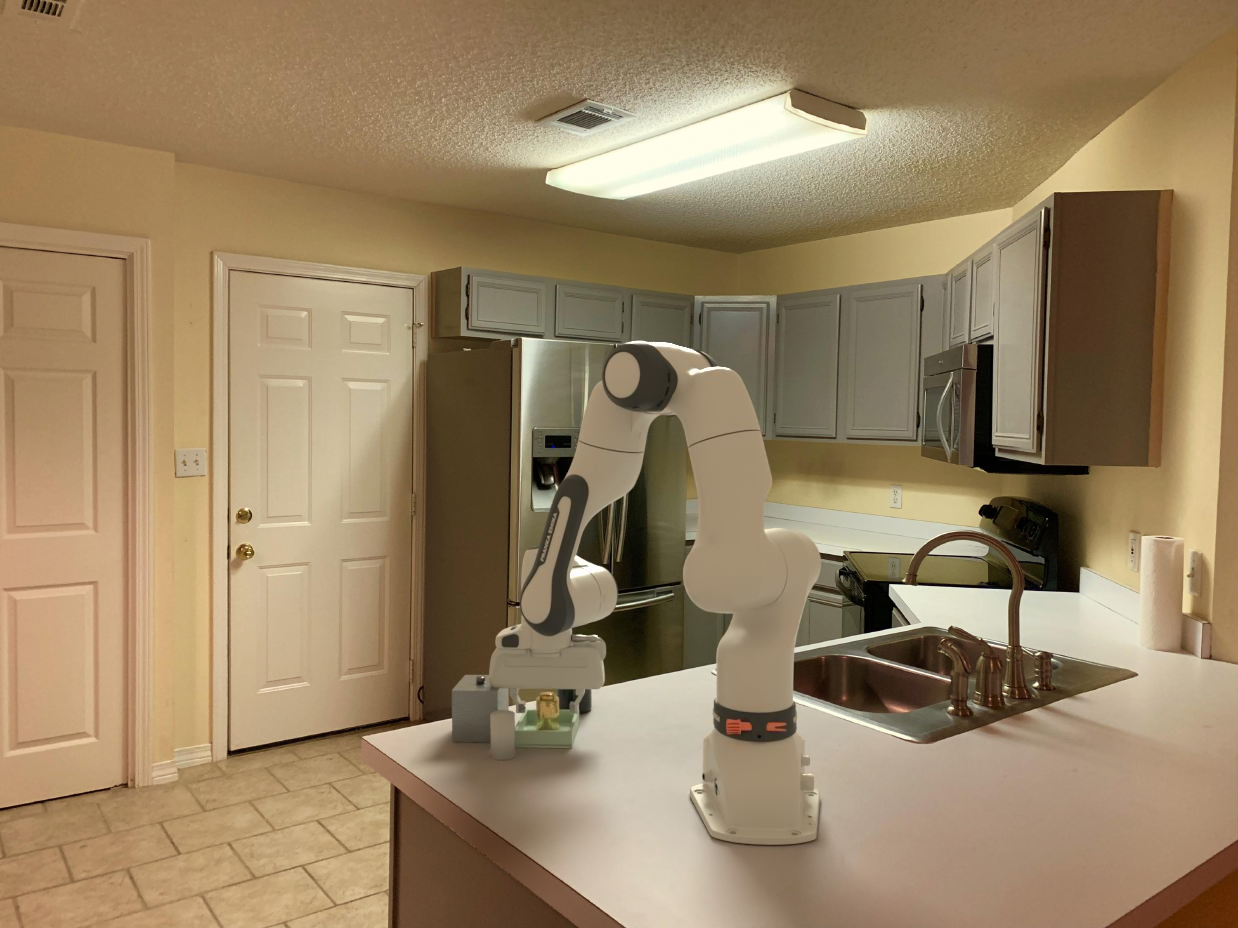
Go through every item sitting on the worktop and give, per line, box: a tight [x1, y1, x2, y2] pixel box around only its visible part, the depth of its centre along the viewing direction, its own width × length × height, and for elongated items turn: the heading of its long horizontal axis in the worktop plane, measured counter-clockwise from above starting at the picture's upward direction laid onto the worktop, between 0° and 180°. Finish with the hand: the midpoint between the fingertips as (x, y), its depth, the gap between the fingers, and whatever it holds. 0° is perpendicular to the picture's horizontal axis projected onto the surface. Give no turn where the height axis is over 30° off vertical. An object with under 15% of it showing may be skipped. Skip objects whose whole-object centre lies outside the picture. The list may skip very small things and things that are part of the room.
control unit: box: [451, 674, 510, 744], centre depth 161 cm, size 10×8×10 cm
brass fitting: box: [535, 691, 559, 730], centre depth 159 cm, size 4×4×7 cm
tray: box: [515, 708, 580, 749], centre depth 159 cm, size 12×10×3 cm
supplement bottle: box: [555, 689, 593, 715], centre depth 173 cm, size 7×7×12 cm
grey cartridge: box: [490, 710, 516, 761], centre depth 149 cm, size 4×4×7 cm
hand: (547, 712), depth 159 cm, fingers open, 8 cm apart
